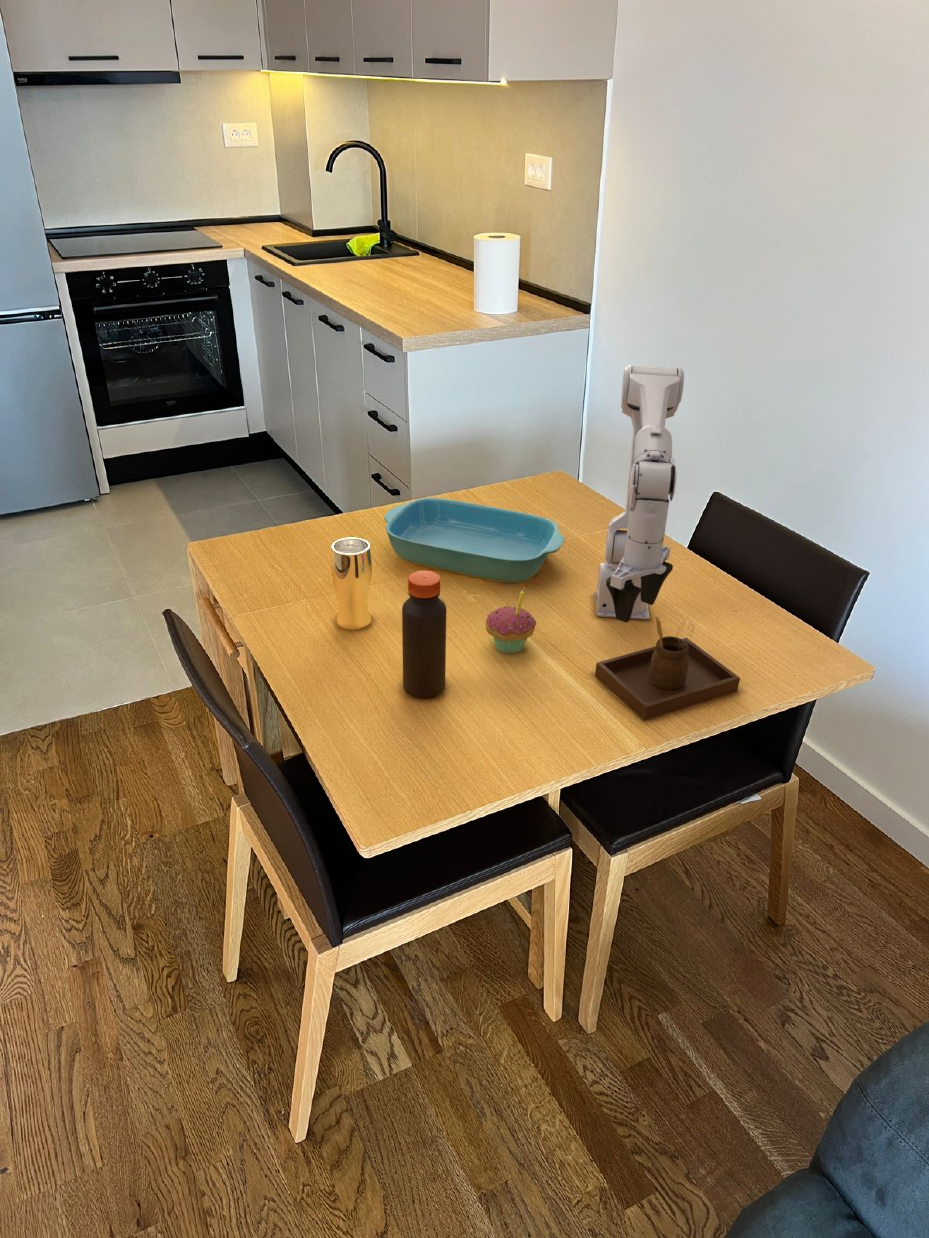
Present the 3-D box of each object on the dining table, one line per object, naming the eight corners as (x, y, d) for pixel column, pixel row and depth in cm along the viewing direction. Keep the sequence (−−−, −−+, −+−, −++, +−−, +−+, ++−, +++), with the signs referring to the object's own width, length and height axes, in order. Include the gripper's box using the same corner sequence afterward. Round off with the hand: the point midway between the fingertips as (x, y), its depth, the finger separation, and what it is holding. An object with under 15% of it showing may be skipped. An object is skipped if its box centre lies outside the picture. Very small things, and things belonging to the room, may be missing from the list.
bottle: (417, 671, 155) (417, 563, 144) (453, 683, 152) (455, 574, 142) (394, 691, 150) (392, 581, 139) (430, 704, 147) (431, 593, 136)
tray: (644, 720, 145) (646, 707, 143) (594, 675, 155) (596, 662, 154) (737, 691, 152) (740, 677, 151) (684, 650, 162) (686, 637, 161)
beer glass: (380, 616, 169) (378, 542, 162) (360, 635, 164) (357, 558, 156) (347, 608, 172) (343, 533, 164) (326, 625, 166) (322, 549, 159)
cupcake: (539, 639, 164) (544, 578, 158) (526, 664, 157) (530, 602, 151) (492, 629, 167) (495, 570, 160) (477, 654, 160) (479, 592, 153)
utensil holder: (691, 688, 151) (703, 625, 145) (654, 692, 150) (664, 628, 144) (676, 668, 156) (687, 606, 150) (641, 672, 155) (650, 609, 149)
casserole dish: (573, 550, 195) (576, 518, 191) (544, 599, 177) (547, 565, 173) (409, 520, 205) (409, 490, 201) (366, 564, 187) (365, 532, 183)
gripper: (642, 559, 139) (632, 637, 146) (691, 528, 148) (679, 603, 155) (602, 544, 143) (594, 621, 150) (652, 515, 152) (642, 589, 159)
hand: (635, 611), depth 153 cm, fingers open, 7 cm apart
